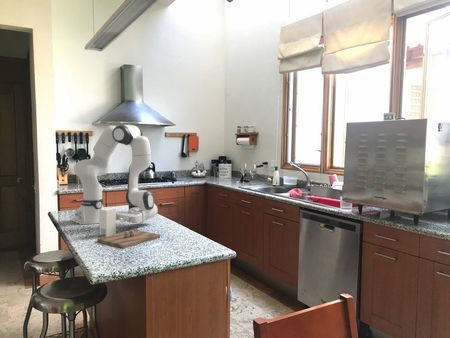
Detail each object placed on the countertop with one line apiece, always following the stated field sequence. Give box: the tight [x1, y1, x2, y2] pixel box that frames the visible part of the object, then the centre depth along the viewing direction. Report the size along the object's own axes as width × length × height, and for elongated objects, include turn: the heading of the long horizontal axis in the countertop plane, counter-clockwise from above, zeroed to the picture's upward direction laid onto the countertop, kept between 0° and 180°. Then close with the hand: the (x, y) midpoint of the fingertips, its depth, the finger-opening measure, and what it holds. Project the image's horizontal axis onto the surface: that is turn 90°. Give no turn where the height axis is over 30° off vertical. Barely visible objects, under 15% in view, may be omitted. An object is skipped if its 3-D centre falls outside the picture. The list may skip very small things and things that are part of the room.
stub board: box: [96, 228, 161, 249], centre depth 189 cm, size 20×24×4 cm
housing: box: [98, 207, 117, 237], centre depth 198 cm, size 6×6×14 cm
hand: (115, 219), depth 202 cm, fingers open, 8 cm apart
